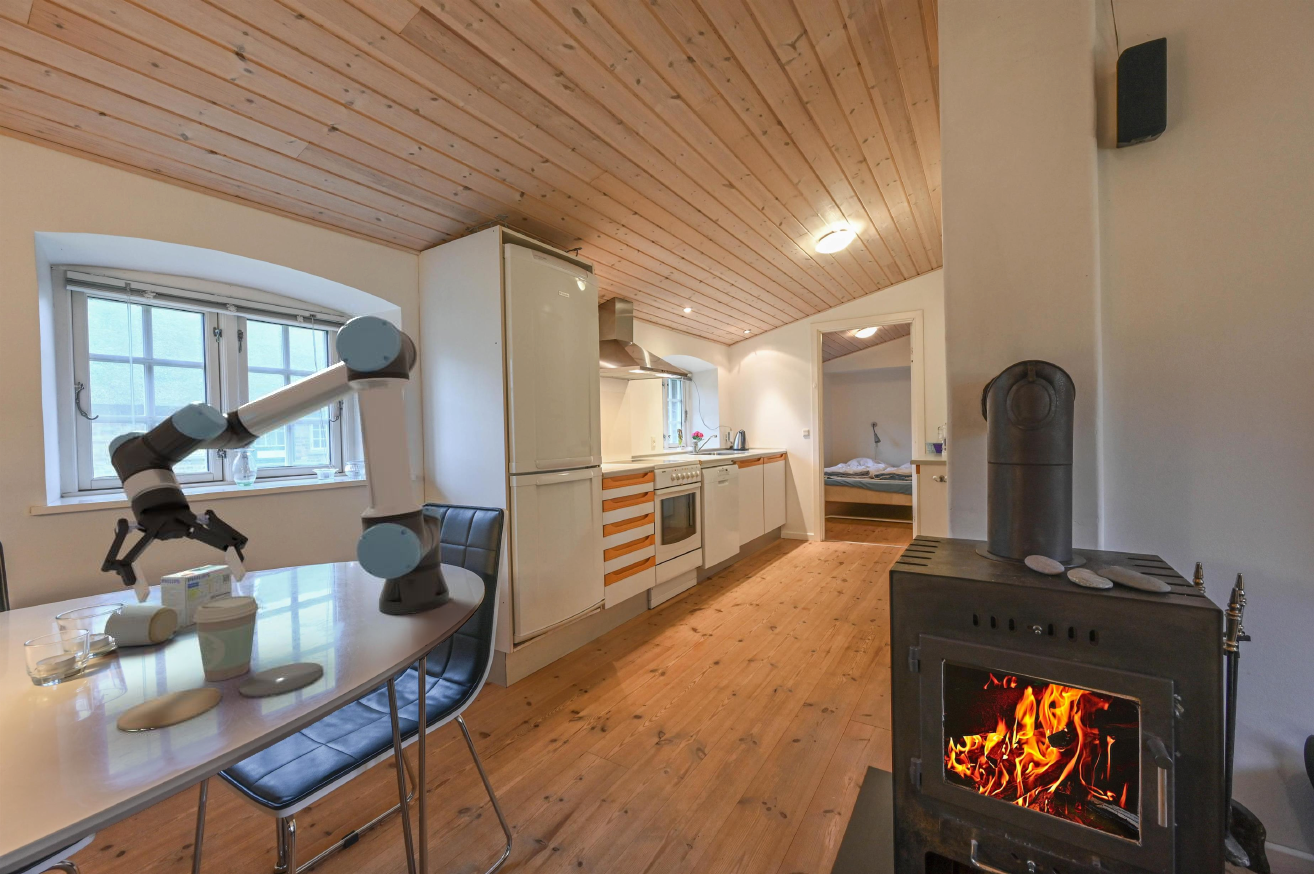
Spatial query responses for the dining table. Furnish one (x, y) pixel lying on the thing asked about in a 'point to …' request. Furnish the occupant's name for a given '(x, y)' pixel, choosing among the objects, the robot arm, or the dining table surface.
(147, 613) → the ceramic mug
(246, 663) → the coffee cup
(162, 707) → the cork coaster
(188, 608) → the light bulb box
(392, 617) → the dining table surface
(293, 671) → the slate coaster
